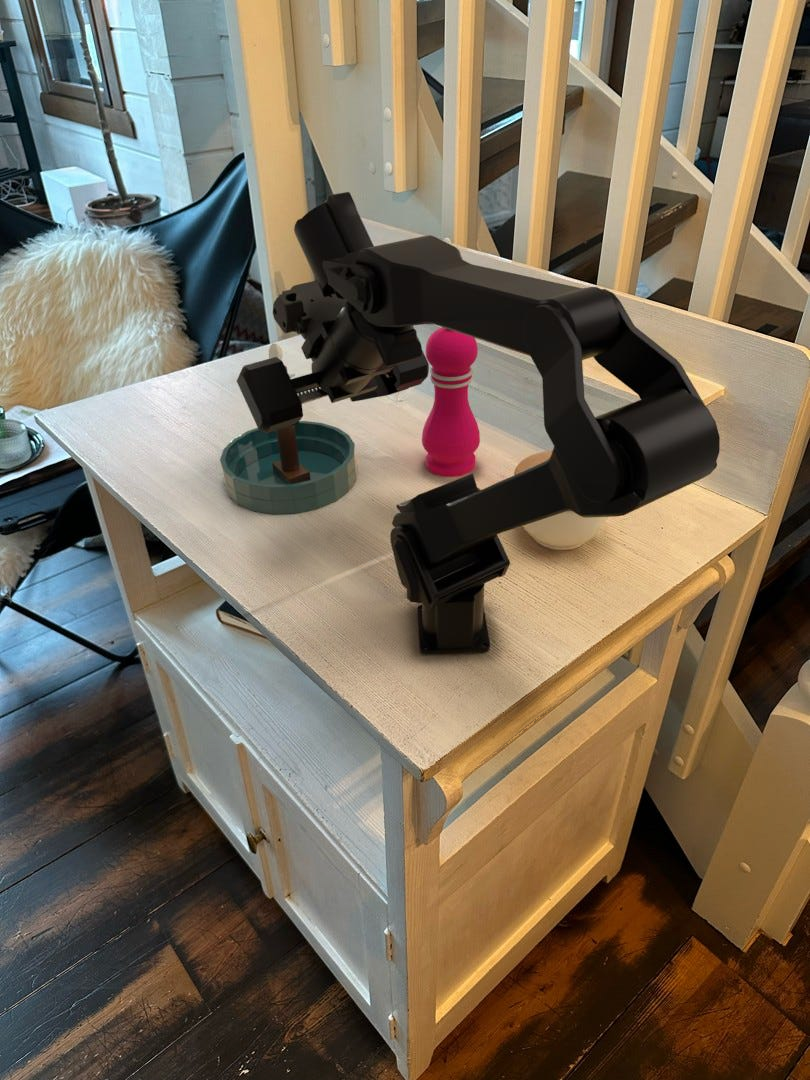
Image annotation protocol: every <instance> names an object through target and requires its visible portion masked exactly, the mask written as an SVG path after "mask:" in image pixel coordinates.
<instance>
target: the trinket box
mask: <svg viewBox="0 0 810 1080" xmlns="http://www.w3.org/2000/svg"><path fill="white" fill-rule="evenodd" d="M552 451H553V450H545V451H541V452H536V453H534V454H531V455H528V456H527V457H525V458H523V459H522V460H521V461H520V462H519V463H518V464H517V465H516V466H515V468H514V472H513V476H514V475H516V474H518V473H520V472H523V471H525V470H527V469H529V468H532V467H534V466H536V465H538V464H540V463H543V462H545V461H547V460H548V459H549V458H550V457H551V454H552ZM608 519H609V517H589V518H584V517H581V516H579V515H578V514H576V513H574V512H573V511H566V512H563V513H560V514H557V515H554V516H551V517H548V518H545V519H542V520H539V521H536V522H533V523H530V524H527V525H523V526H522V528H523V529H524V531H525V532H527V534H528V535H529V536H531V537H532V539H533V540H534V541H535V543H537V544H538V545H540V546H542V547H544V548H547V549H550V550H554V551H571V550H574V549H577V548H579V547H581V546H583V545H584V544H585V543H587V542H588V541H590V540H591V539H593V538H595V536H596V535H598V534H599V532H600V531H601V530H602V529H603V527H604V526H605V524H606V523H607V521H608Z"/></svg>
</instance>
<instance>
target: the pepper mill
mask: <svg viewBox="0 0 810 1080" xmlns="http://www.w3.org/2000/svg"><path fill="white" fill-rule="evenodd" d="M478 348H479V347H478V343H477V338H474V337H471V336H468V335H465V334H462V333H459V332H456V331H453V330H450V329H447V328H444V327H440V328H437V329H436V330H434V331H433V332H432V333H431V334H430V335H429V337H428V338H427V341H426V345H425V357H426V359H427V361H428V363H429V365H430V366H431V368H429V373H430V377H429V380H430V382H431V384H433V388H434V401H433V404H432V407H431V410H430V412H429V415H428V416H427V418H426V420H425V422H424V425H423V428H422V433H421V445H422V447H423V449H424V450H425V452H426V453H427V454H426V456H425V466H426V468H427V470H428V472H430V473H432V474H434V475H437V476H441V477H446V478H453V477H461V476H465V475H468V474H469V473H471V472H472V471H473V470H474V469H475V467H476V454H475V452H476V451H477V450H478V448H479V447H480V444H481V434H480V429H479V424H478V422H477V419H476V417H475V415H474V413H473V411H472V408H471V406H470V402H469V394H468V393H469V385H470V384H472V382H473V380H474V379H473V378H474V377H473V373H474V369H473V367H472V365H473V364H474V363H475V361H476V360H477V357H478V352H479V350H478Z"/></svg>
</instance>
